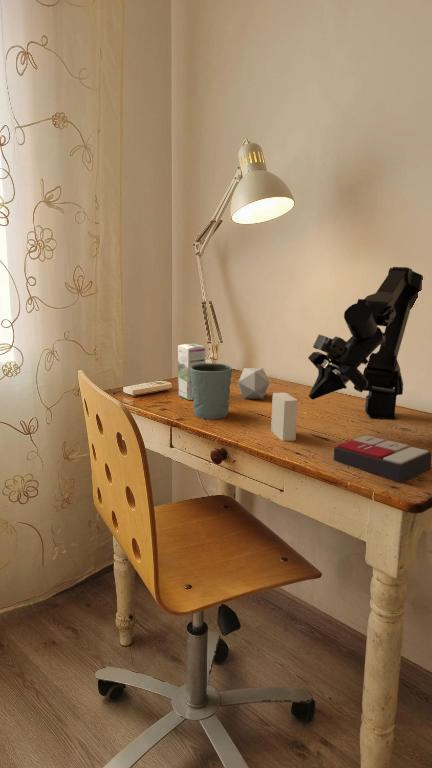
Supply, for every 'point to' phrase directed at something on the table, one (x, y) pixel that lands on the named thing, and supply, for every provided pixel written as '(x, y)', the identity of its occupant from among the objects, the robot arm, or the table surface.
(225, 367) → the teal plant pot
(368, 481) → the table surface
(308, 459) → the table surface
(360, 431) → the table surface
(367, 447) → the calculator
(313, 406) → the table surface
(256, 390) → the die
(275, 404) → the white box grey panel
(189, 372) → the syrup box
